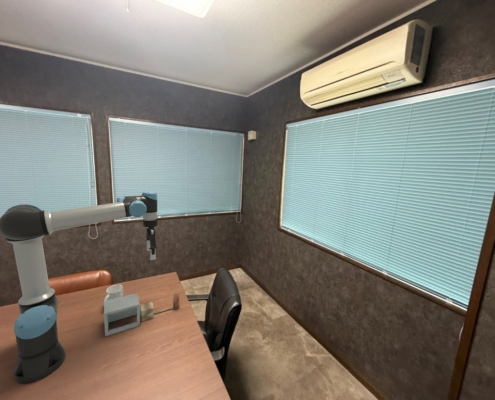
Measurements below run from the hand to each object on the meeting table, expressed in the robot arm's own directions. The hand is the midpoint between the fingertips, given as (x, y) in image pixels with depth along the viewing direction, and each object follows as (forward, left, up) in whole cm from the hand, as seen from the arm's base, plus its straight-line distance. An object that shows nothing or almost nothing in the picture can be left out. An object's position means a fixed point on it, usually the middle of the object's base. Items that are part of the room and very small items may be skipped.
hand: (151, 254), depth 124 cm
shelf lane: (-15, -9, -32) cm, 36 cm away
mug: (-20, +9, -32) cm, 39 cm away
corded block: (+3, -9, -32) cm, 33 cm away
